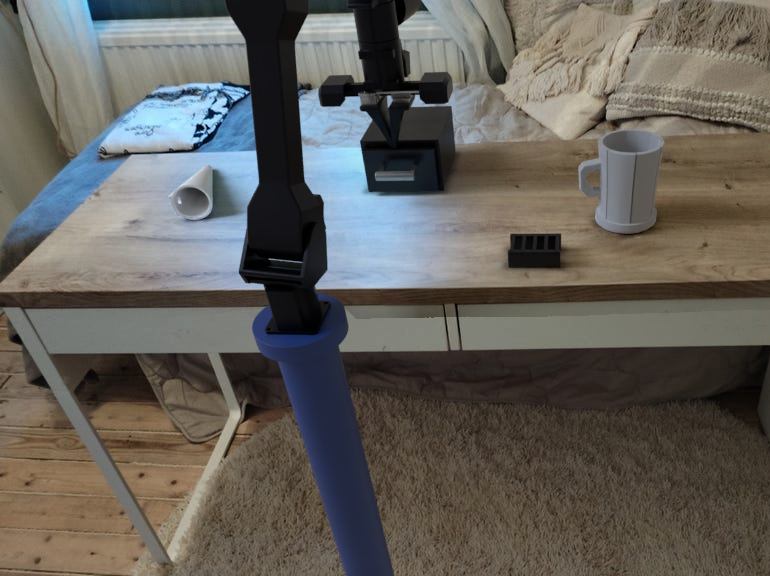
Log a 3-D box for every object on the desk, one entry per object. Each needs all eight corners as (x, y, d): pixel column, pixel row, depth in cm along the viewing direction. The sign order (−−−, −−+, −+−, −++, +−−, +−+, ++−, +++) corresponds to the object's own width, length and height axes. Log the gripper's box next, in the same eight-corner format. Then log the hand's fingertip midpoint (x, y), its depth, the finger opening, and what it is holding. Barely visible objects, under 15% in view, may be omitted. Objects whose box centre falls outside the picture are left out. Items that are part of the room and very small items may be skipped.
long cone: (245, 176, 128) (218, 215, 112) (211, 182, 128) (179, 223, 112) (233, 145, 125) (204, 181, 109) (198, 151, 125) (164, 189, 109)
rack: (561, 248, 98) (561, 233, 97) (560, 267, 94) (560, 252, 93) (511, 248, 99) (510, 233, 98) (508, 267, 95) (507, 252, 94)
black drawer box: (444, 190, 115) (438, 139, 109) (368, 191, 116) (359, 141, 111) (455, 153, 126) (451, 105, 120) (386, 155, 127) (379, 107, 122)
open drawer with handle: (434, 203, 109) (429, 161, 105) (362, 203, 111) (355, 162, 106) (449, 155, 123) (446, 117, 119) (386, 156, 124) (380, 118, 120)
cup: (616, 246, 98) (621, 164, 90) (572, 222, 104) (574, 143, 96) (669, 221, 102) (678, 141, 95) (624, 200, 108) (630, 123, 101)
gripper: (453, 19, 102) (461, 125, 112) (329, 24, 105) (348, 127, 114) (441, 41, 94) (452, 153, 104) (306, 46, 96) (329, 156, 106)
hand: (394, 146), depth 107 cm, fingers closed
